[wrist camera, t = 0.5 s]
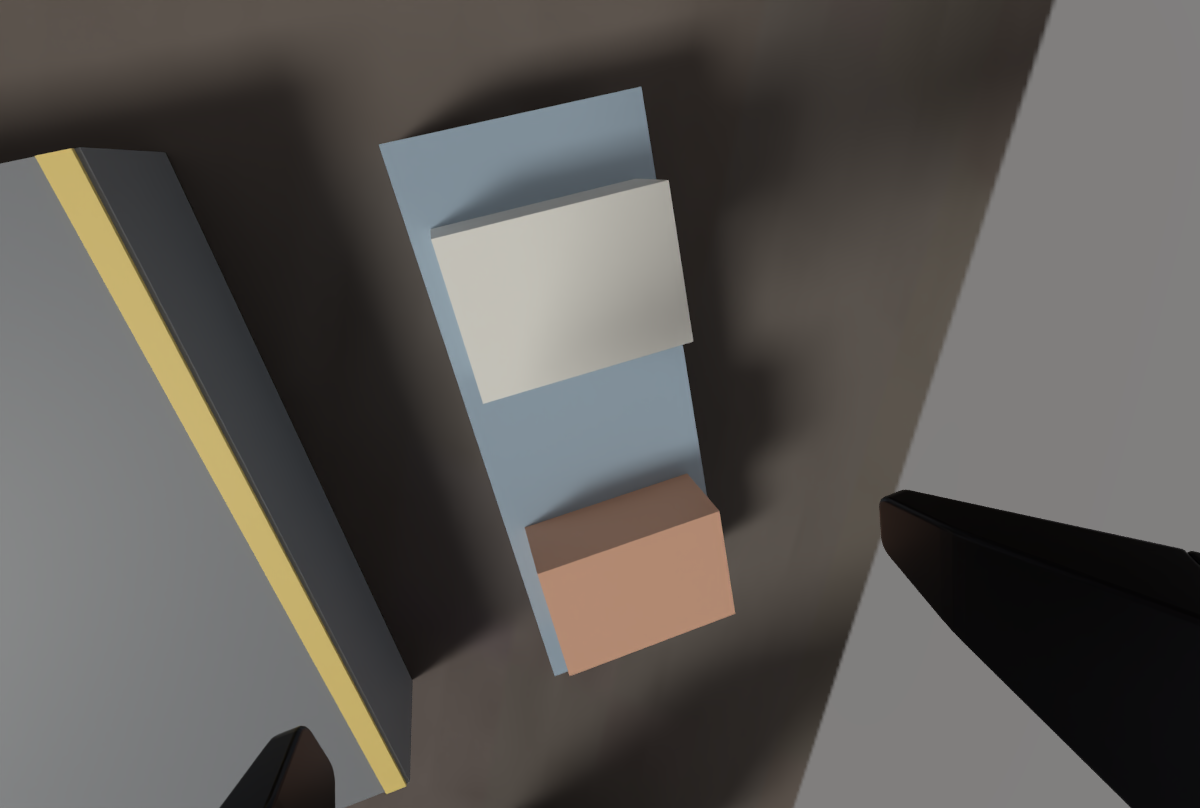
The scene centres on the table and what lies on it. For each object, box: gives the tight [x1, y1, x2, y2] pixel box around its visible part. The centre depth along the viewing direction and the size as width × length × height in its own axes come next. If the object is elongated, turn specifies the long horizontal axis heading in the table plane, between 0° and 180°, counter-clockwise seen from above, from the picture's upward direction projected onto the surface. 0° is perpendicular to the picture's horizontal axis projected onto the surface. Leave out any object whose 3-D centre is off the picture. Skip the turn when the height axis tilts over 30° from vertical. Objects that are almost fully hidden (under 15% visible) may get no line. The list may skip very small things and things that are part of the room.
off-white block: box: [430, 178, 693, 404], centre depth 14 cm, size 4×5×2 cm
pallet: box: [379, 87, 707, 676], centre depth 18 cm, size 16×6×4 cm, turn 12°
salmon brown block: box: [525, 474, 735, 676], centre depth 17 cm, size 4×5×2 cm
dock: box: [0, 147, 412, 808], centre depth 16 cm, size 18×10×4 cm, turn 12°
